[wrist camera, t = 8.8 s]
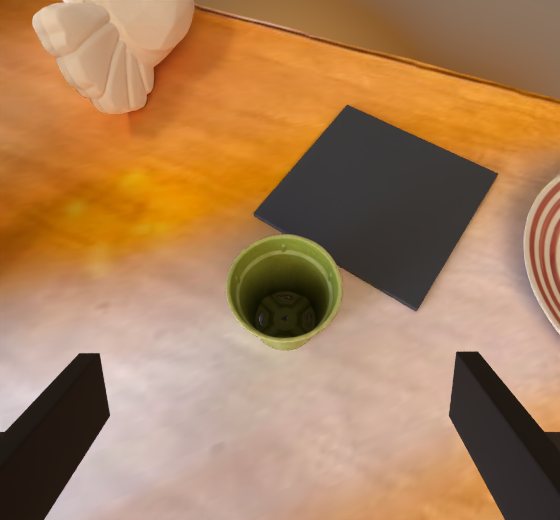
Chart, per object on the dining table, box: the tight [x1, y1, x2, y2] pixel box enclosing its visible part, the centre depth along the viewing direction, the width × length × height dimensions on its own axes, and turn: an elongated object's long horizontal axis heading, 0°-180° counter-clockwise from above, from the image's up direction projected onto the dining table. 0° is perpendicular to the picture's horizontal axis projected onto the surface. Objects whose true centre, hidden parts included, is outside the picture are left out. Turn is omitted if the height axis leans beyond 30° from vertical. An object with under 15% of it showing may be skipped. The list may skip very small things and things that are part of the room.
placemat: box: [254, 105, 498, 311], centre depth 48 cm, size 20×20×1 cm
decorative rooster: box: [32, 0, 195, 114], centre depth 50 cm, size 25×16×25 cm
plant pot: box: [226, 234, 343, 350], centre depth 38 cm, size 9×9×9 cm
